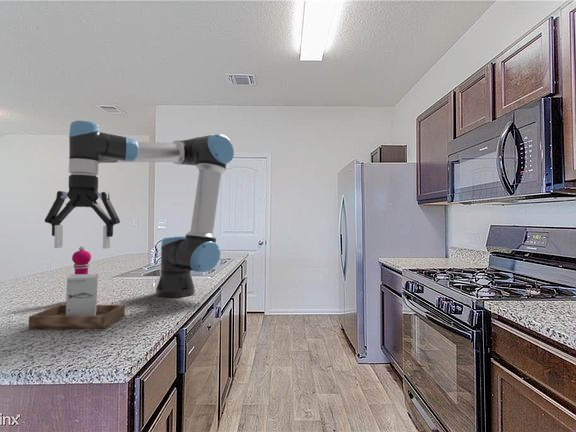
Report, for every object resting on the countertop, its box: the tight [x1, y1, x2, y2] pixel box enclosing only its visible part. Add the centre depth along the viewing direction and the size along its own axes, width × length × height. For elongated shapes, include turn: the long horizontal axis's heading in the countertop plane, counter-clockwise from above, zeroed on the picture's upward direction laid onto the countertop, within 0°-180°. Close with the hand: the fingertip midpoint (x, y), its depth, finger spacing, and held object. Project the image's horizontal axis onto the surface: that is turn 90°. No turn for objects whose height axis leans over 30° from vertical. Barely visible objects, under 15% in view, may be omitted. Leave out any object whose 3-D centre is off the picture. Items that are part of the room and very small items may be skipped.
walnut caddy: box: [28, 303, 126, 331], centre depth 105 cm, size 20×14×4 cm
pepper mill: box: [71, 245, 92, 275], centre depth 131 cm, size 7×7×20 cm
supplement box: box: [65, 273, 99, 316], centre depth 106 cm, size 7×7×13 cm
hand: (82, 248), depth 106 cm, fingers open, 13 cm apart
